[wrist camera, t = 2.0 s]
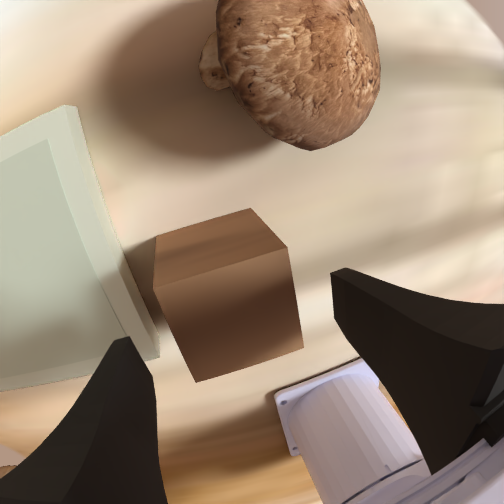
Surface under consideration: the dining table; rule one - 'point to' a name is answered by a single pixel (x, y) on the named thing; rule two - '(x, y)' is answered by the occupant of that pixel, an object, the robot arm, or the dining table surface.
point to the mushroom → (296, 66)
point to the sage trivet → (60, 260)
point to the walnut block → (227, 294)
